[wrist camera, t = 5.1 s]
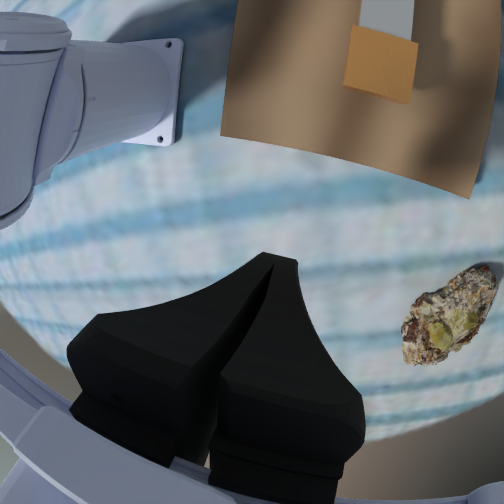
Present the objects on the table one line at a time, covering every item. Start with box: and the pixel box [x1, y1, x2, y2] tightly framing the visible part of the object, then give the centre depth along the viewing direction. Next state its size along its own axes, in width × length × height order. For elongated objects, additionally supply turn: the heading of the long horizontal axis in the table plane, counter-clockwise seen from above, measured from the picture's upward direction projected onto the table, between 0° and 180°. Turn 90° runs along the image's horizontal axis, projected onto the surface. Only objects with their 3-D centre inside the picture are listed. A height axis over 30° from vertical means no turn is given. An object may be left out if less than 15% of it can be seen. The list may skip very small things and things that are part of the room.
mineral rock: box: [401, 265, 498, 366], centre depth 20 cm, size 11×4×8 cm
